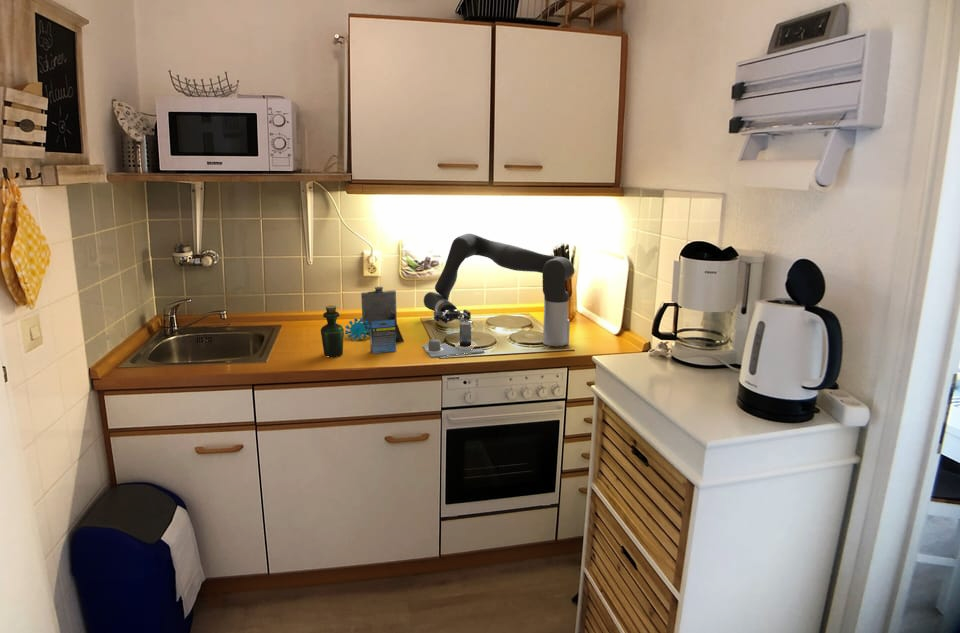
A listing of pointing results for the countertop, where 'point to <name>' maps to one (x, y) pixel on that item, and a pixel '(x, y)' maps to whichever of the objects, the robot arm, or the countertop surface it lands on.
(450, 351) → the plate
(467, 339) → the steel pin
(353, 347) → the countertop surface
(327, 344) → the potion bottle
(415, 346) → the countertop surface
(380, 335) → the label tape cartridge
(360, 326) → the blue virus model
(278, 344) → the countertop surface
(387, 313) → the door stopper
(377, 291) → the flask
